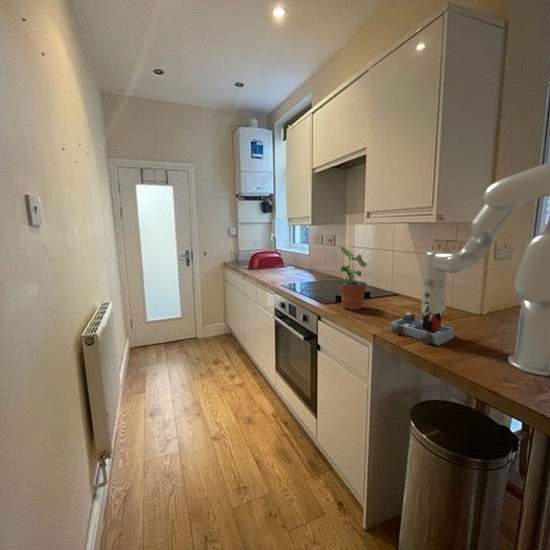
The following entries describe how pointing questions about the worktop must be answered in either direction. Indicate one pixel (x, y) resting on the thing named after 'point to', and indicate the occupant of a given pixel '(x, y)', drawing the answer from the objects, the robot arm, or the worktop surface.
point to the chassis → (422, 331)
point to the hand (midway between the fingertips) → (431, 327)
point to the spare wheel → (408, 316)
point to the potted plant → (352, 284)
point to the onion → (435, 325)
